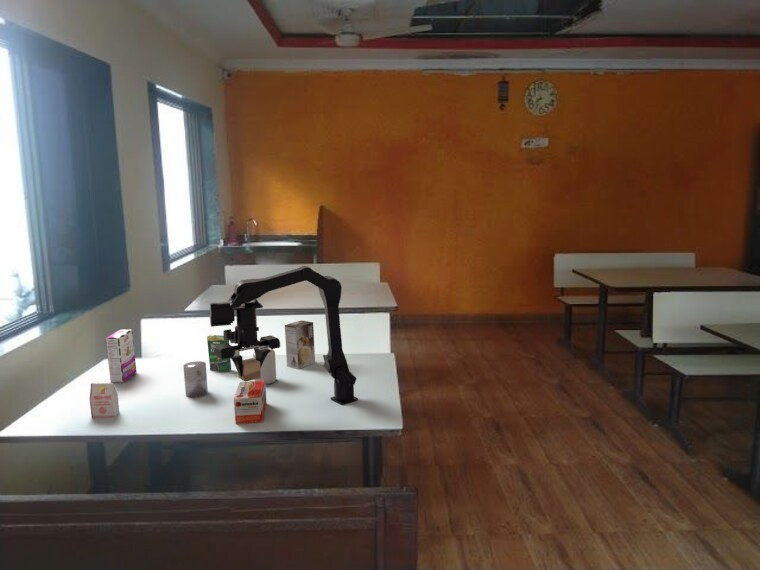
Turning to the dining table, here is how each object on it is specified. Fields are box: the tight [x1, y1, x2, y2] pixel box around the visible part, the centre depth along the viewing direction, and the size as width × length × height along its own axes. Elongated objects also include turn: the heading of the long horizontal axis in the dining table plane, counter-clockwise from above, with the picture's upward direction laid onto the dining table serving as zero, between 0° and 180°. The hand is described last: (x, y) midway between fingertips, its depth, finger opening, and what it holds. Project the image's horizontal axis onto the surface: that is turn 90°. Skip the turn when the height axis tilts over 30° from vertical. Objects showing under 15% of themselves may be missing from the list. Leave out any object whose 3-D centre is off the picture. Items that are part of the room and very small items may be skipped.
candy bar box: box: [105, 328, 137, 384], centre depth 213 cm, size 11×5×16 cm, turn 179°
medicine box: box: [233, 380, 268, 425], centre depth 180 cm, size 15×8×8 cm, turn 7°
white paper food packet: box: [89, 382, 120, 418], centre depth 180 cm, size 4×7×10 cm, turn 90°
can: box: [252, 347, 277, 385], centre depth 207 cm, size 8×8×12 cm
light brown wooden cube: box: [237, 357, 261, 382], centre depth 178 cm, size 5×5×5 cm
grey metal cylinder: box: [182, 360, 209, 399], centre depth 196 cm, size 7×7×10 cm
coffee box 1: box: [206, 334, 232, 373], centre depth 220 cm, size 8×3×13 cm, turn 70°
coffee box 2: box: [284, 319, 316, 370], centre depth 224 cm, size 9×6×16 cm
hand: (249, 374), depth 178 cm, fingers closed on light brown wooden cube, 5 cm apart
